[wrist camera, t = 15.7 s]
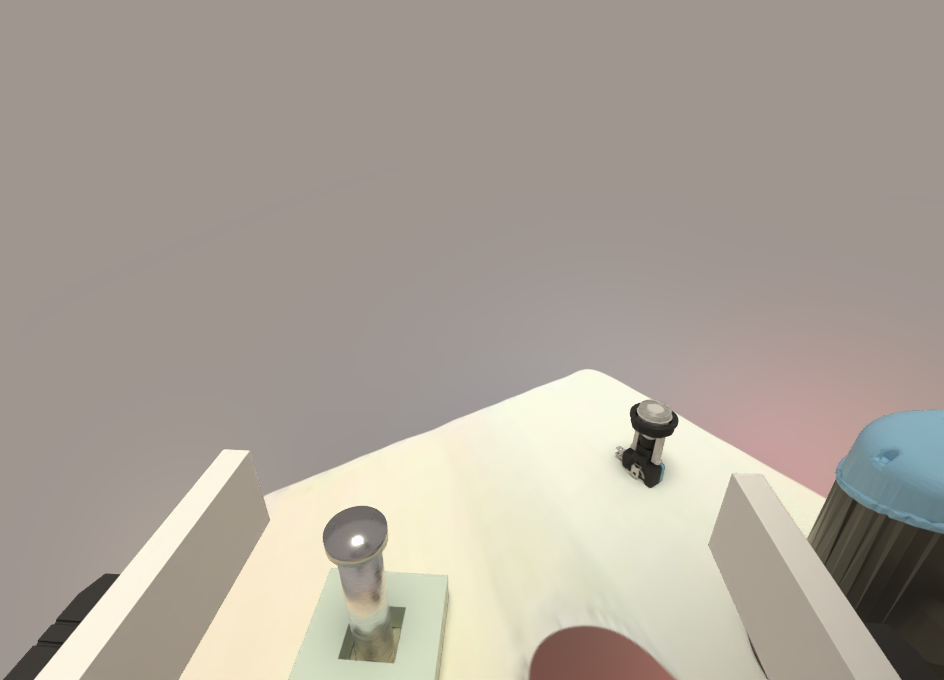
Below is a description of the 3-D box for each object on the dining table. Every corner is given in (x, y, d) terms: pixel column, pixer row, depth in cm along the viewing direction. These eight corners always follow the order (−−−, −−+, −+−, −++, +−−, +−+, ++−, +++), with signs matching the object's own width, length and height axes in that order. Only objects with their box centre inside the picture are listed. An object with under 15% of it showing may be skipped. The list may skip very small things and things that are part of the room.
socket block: (448, 596, 44) (447, 575, 43) (431, 737, 34) (429, 716, 33) (335, 588, 45) (331, 568, 43) (286, 724, 35) (278, 703, 33)
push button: (602, 463, 60) (613, 399, 55) (629, 448, 63) (641, 385, 58) (645, 495, 55) (660, 428, 51) (672, 477, 58) (689, 411, 53)
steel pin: (406, 629, 41) (393, 507, 34) (396, 684, 37) (378, 559, 30) (358, 626, 41) (335, 504, 35) (342, 680, 38) (313, 555, 31)
